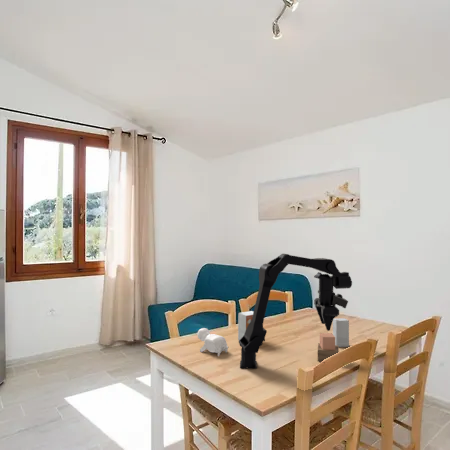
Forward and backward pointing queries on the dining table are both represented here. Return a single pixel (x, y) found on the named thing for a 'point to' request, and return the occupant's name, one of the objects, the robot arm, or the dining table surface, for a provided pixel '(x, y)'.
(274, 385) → the dining table surface
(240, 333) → the small box
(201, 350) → the white animal figurine
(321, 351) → the walnut block
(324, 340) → the terracotta cube
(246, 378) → the dining table surface
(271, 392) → the dining table surface
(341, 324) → the skincare box
